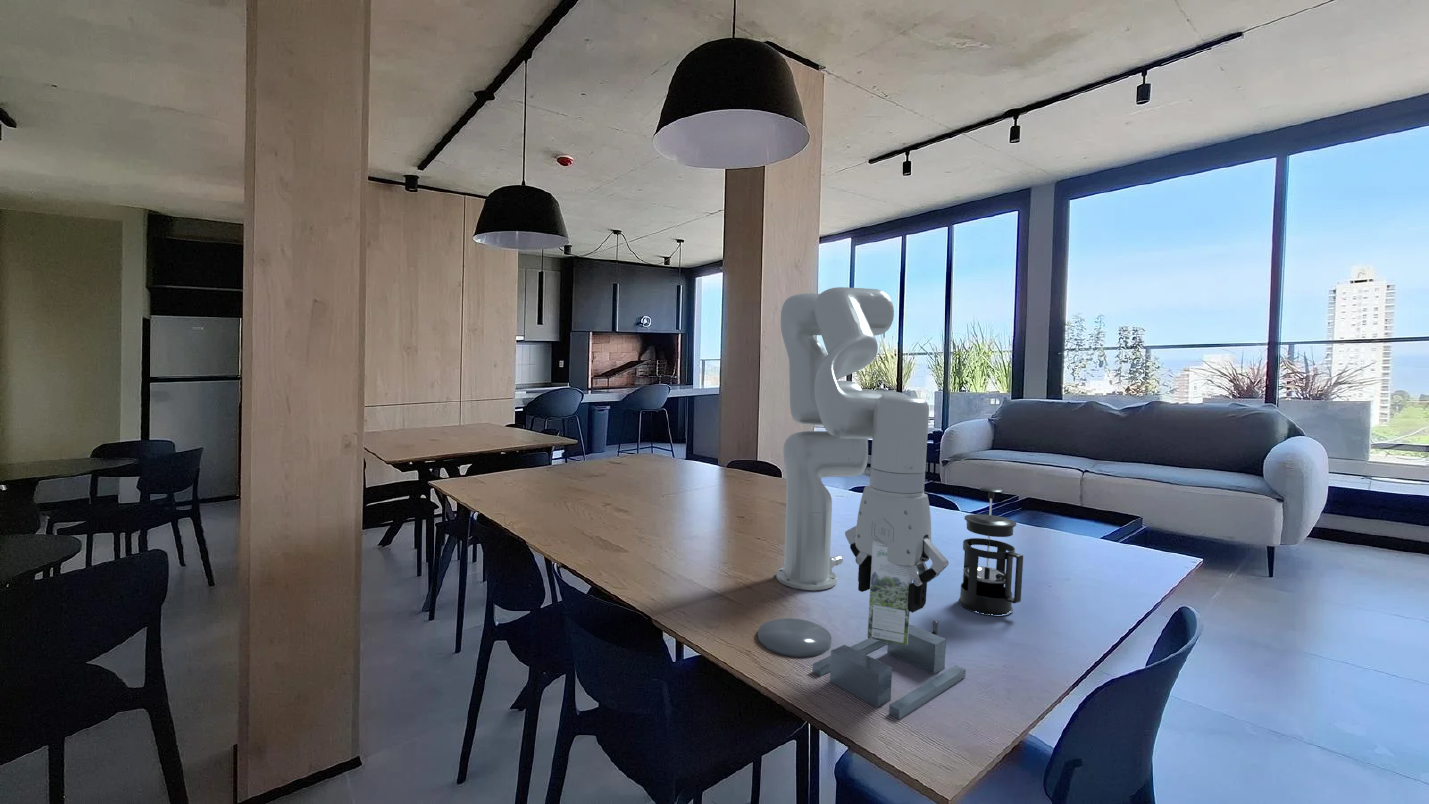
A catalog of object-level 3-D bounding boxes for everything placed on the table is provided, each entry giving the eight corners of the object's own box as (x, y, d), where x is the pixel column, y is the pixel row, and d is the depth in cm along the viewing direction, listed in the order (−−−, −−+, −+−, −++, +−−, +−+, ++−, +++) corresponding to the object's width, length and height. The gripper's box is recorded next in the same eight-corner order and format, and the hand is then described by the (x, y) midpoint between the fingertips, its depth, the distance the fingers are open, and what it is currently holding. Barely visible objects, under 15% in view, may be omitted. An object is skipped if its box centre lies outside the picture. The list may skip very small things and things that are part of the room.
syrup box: (908, 629, 87) (914, 535, 86) (908, 647, 81) (914, 547, 80) (869, 622, 89) (874, 530, 88) (866, 639, 83) (871, 541, 82)
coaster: (792, 617, 104) (792, 612, 104) (846, 642, 94) (846, 637, 94) (742, 635, 96) (743, 630, 96) (796, 665, 87) (796, 659, 87)
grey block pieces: (896, 632, 98) (897, 605, 98) (979, 668, 87) (981, 637, 87) (812, 671, 85) (813, 640, 85) (899, 719, 74) (900, 684, 73)
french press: (945, 600, 113) (951, 484, 112) (975, 592, 118) (981, 481, 117) (1002, 624, 103) (1009, 497, 102) (1031, 613, 108) (1039, 492, 107)
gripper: (832, 473, 88) (827, 585, 89) (939, 497, 74) (930, 629, 76) (862, 468, 92) (857, 574, 94) (968, 490, 79) (959, 614, 80)
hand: (890, 598), depth 85 cm, fingers closed on syrup box, 7 cm apart
